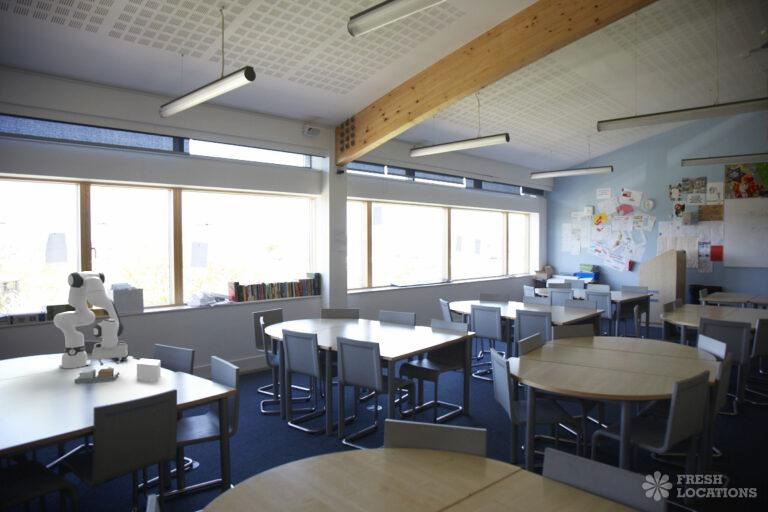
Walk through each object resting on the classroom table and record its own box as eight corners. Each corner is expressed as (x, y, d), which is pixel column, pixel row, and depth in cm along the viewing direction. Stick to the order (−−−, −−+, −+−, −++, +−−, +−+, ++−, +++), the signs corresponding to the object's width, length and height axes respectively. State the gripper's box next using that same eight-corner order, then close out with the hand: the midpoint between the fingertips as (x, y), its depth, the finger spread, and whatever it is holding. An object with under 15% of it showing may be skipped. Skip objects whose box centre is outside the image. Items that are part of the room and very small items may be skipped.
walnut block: (103, 375, 308) (103, 366, 308) (115, 374, 311) (115, 365, 311) (98, 381, 294) (98, 371, 294) (110, 380, 296) (110, 371, 296)
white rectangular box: (145, 384, 289) (145, 367, 289) (128, 375, 309) (128, 360, 309) (169, 379, 300) (169, 363, 300) (152, 371, 320) (152, 356, 320)
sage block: (82, 379, 299) (82, 370, 299) (95, 378, 301) (95, 369, 301) (79, 382, 291) (79, 373, 291) (92, 381, 294) (92, 372, 294)
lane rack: (81, 377, 303) (81, 373, 303) (119, 374, 310) (119, 371, 310) (74, 383, 289) (74, 379, 289) (114, 380, 296) (114, 376, 296)
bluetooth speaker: (111, 356, 365) (111, 344, 365) (125, 355, 370) (125, 342, 370) (115, 362, 346) (115, 348, 346) (129, 360, 352) (129, 347, 352)
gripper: (128, 341, 315) (128, 362, 315) (93, 343, 308) (93, 364, 308) (126, 343, 309) (126, 364, 309) (91, 345, 302) (91, 367, 302)
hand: (110, 364), depth 308 cm, fingers open, 8 cm apart
